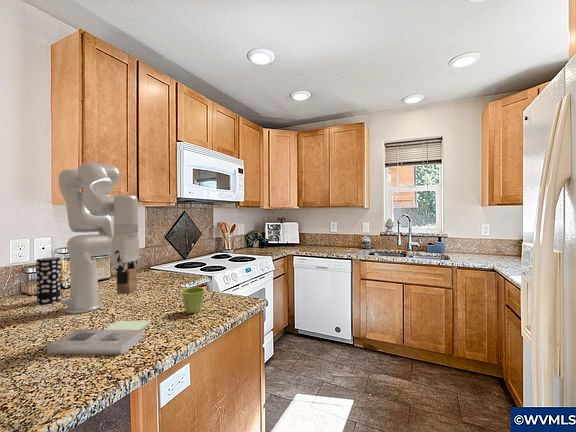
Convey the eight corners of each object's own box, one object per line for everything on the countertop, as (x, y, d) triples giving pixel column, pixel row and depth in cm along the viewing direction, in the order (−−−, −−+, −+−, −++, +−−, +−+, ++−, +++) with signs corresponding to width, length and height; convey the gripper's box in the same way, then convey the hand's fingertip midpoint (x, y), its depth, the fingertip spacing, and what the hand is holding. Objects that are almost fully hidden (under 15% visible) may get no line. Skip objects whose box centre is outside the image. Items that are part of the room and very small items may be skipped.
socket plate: (47, 353, 82) (47, 344, 82) (77, 336, 93) (77, 329, 93) (121, 354, 81) (121, 345, 81) (142, 337, 92) (142, 329, 92)
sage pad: (101, 333, 96) (101, 330, 96) (118, 323, 105) (118, 320, 105) (136, 333, 95) (136, 331, 95) (150, 323, 104) (150, 321, 104)
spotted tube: (32, 303, 129) (32, 259, 129) (53, 298, 136) (53, 257, 136) (43, 305, 126) (43, 260, 126) (64, 300, 133) (64, 258, 133)
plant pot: (191, 316, 111) (191, 294, 111) (176, 312, 116) (176, 291, 116) (209, 310, 119) (209, 289, 119) (194, 306, 124) (194, 286, 124)
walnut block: (116, 293, 98) (116, 270, 98) (124, 290, 102) (124, 268, 102) (129, 293, 98) (129, 270, 98) (136, 290, 102) (136, 268, 102)
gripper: (130, 229, 108) (130, 276, 108) (99, 231, 92) (99, 287, 92) (149, 228, 108) (149, 276, 108) (121, 231, 91) (122, 287, 91)
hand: (126, 281), depth 100 cm, fingers closed on walnut block, 4 cm apart
